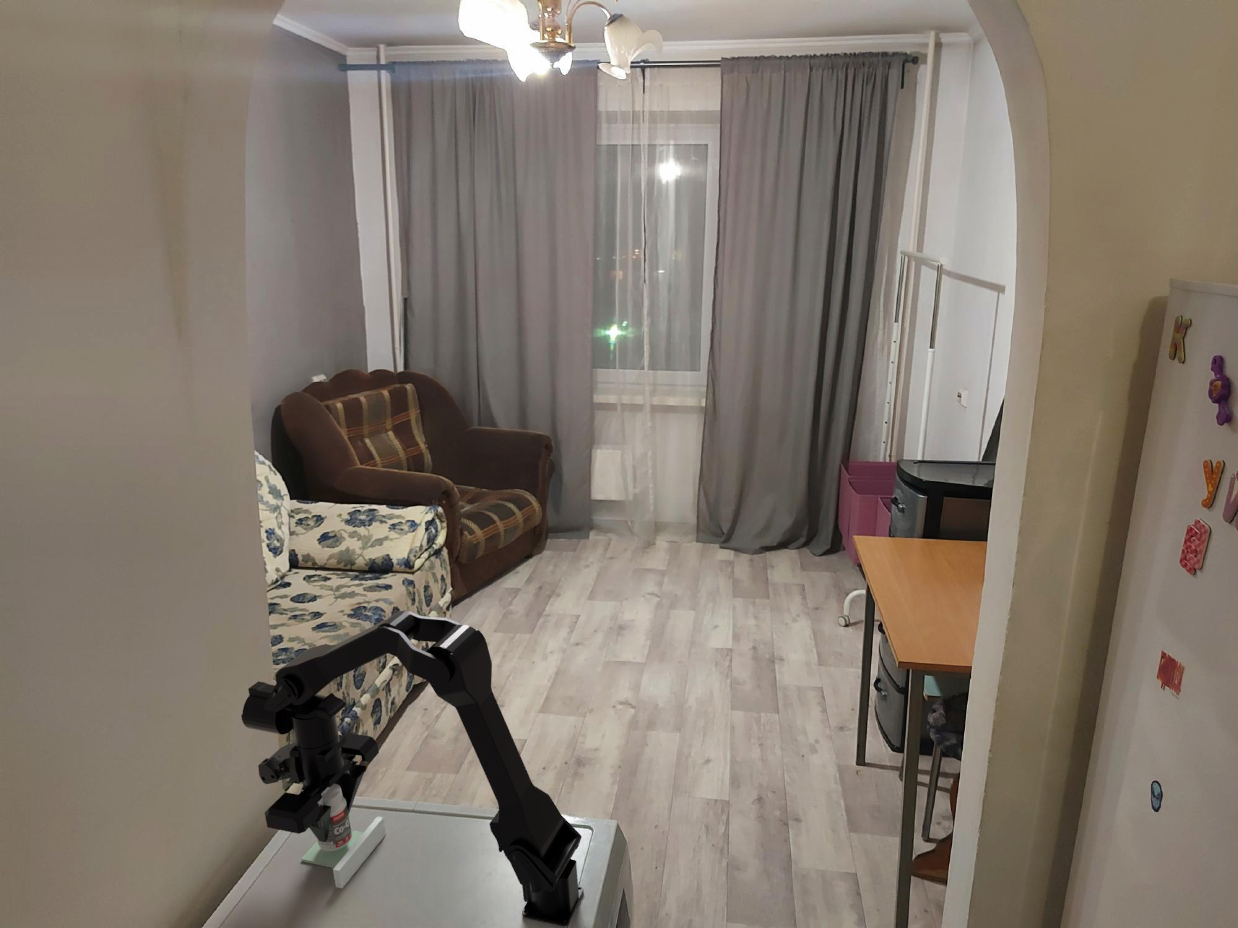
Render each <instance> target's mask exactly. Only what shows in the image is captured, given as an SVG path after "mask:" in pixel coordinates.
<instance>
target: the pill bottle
mask: <svg viewBox="0 0 1238 928" xmlns="http://www.w3.org/2000/svg"><path fill="white" fill-rule="evenodd" d="M322 798H323V799H322V802H323V805H327V806H331V813H330V822H329V832H328V838H327V841H326V842H321V841H319V840H318V839H317V841H318V844H319V846H320V848H321V849H323V850H326V851H335V850H338V849H341V848H343V847H344V846H345V845H347V844H348V843H349V841H350V840H351V838H352V831H353V830H352V827H351V820H350V814H349V815H348V809H347V803H346V800H345V798H344V797H343V796H342V791H341V787H340V786H339V785H337V784H333V785H332V786H331V787H329V788H328V789H327V790H326V791H325V793H324V794H323V795H322ZM351 830H352V831H351Z"/></svg>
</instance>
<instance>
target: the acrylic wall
mask: <svg viewBox="0 0 1238 928" xmlns="http://www.w3.org/2000/svg"><path fill="white" fill-rule="evenodd" d="M385 825H386V824H385V820H384V816H376V817H375V819H374V820H373V821H372V823H371V824H370V825H369V826H368V827H367V828H366V829H365V831H364V832H362V833H363V834H362V835H361V837H360V838H359V839H358V840H357V841H356V843H355V844H354V845H353V846H352V847H351V848H350V850H349V851H348V852H347V853H346V854H345V856H344V857H343V858H342V859H341V860H340V862H339V863H338V864H337V865H336V866H335V867H334V868H332V872H333V873H332V874H333V878H334V883H335V888H339V889H343V888H344V887H345V886H346V884H347V883H348V882H349V881H350V880H351V878H352V877H353V876H354V874H355V873H357V871H358V870H359V868H360V867H361V866H362V865H363V863H364V862H365V861H366V859H367V858H368V857H369V856H370V855H371V853H372V852H373V851H375V850H374V849H376V848H377V846H378V845H379V843H381V841H382V840H383V839H384V838H385V836H386V835H387V832H386V826H385Z"/></svg>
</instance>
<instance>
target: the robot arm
mask: <svg viewBox="0 0 1238 928" xmlns="http://www.w3.org/2000/svg"><path fill="white" fill-rule="evenodd" d="M412 640H414V641H416V642H418V641H419V642H428V643H429V642H430V643H433V644H432V645H431V646H430V647H428V648H427V650H426V651H425V650H423V649H420V648H418V647H416V646H414V644H413V643H412V642H411V641H412ZM387 654H389V655H392V656H393V657H396V659H398V661H399V662H400V664H401V665H402V666H403V667H404V668H405V671H407V672H408V673H409V674H412V675H414V676H416V677H418V678H421V679H423V680H424V681H427V682H428V683H429V685H430V686H431V688H432V689H433V691H434V693H435V694H436V696H437V697H438V698H440V699H441V700H443V701H444V702H445V703H448V704H449V705H450V706H452V707H454V708H455V710H456V712H457V713H458V716H459V719H460V721H461V723H462V726H463V728H464V729H465V732H466V734H467V736H468V739H469V741H470V744H471V746H472V747H473V751H474V753H475V755H476V756H477V759H478V761H479V763H480V766H481V769H482V770H483V772H484V775H485V777H486V779H487V782H488V784H489V786H490V788H491V790H492V793H493V795H494V798H495V800H496V801H497V804H498V811H497V812H496V813H495V815H494V816H493V818H492V819H491V821H490V822H489V829H490V832H491V834H492V835H493V837H494V839H495V840H496V842H497V846H498V852H499V853H502V852H503V854H504V856H505V858H506V859H507V861H509V863H510V866H511V868H512V870H513V872H514V873H515V876H516V878H517V880H518V882H519V884H520V885H521V886H522V887H521V888H522V896H523V897H522V898H523V902H524V903H525V905H524V907H523V909H522V910H521V913H522V914H521V915H522V917H523V918H527V919H531V920H536V921H541V922H545V923H549V924H555V925H558V926H563V927H565V926H566V927H567V926H568V925H569V924H570V922H571V919H572V917H573V915H574V912H575V911H576V909H577V906H578V904H579V902H580V900H581V898H582V895H583V893H584V886H582V885H579V879H578V868H577V867H578V866H577V860H575V859H572V857H573V856H574V854H575V852H576V850H577V849H578V847H579V846H580V844H581V841H582V835H581V834H580V833H579V831H577V830H576V828H574V827H573V826H572V824H571V823H569V822H570V821H568V820H567V819H566V818H565V817H564V816H563V815H562V814H561V812H560V810H559V809H558V807H557V806H556V804H555V802H554V801H553V799H552V798H551V796H550V795H549V794H548V793H547V792H546V791H544V790H542V789H541V788H539V787H537V786H535V785H534V783H533V782H532V779H531V777H530V775H529V773H528V771H527V768H526V766H525V765H526V764H525V763H524V761H523V759H522V757H521V753H520V751H519V750H518V747H517V745H516V743H515V741H514V739H513V736H512V733H511V732H510V730H509V729H510V728H509V727H508V725H507V724H508V723H507V722H506V719H505V717H504V715H503V713H502V710H501V708H500V706H499V704H498V700H497V699H496V697H495V695H494V692H493V689H492V688H493V687H492V675H493V673H492V670H493V662H492V661H493V660H492V658H491V655H490V650H489V646H488V642H487V640H486V638H485V636H484V634H483V633H482V632H481V631H480V630H479V629H478V628H477V629H475V628H474V627H473V626H470V625H467V624H462V623H460V622H457V621H455V620H453V619H450V618H448V617H447V618H446V617H437V616H436V617H435V616H425V615H424V616H423V615H419V614H417V613H414V612H412V611H410V610H406V609H405V610H400V611H396V612H394V613H393V614H391V616H390V617H388V618H387V619H384V620H382V621H380V622H378V623H377V624H374V625H373V626H370V627H369V628H366V629H364V630H363V631H361V632H358V633H357V634H354V635H353V636H351V637H348V638H347V639H344V640H343V641H341V642H339V643H337V644H327V643H324V644H321V645H320V644H319V645H316V646H313V647H312V646H311V647H309V648H307V649H306V650H305V651H303V652H302V653H300V654H299V655H298V656H296V657H295V658H293V659H292V660H290V661H289V662H288V663H286V664H285V665H283V666H282V667H280V668H279V669H278V670H277V671H276V672H275V675H274V677H275V681H276V683H275V685H274V684H269V683H266V682H265V681H257V682H256V683H254V684H253V685H251V686H250V687H248V694H249V695H248V697H246V698H247V699H246V700H245V701H244V704H243V709H242V714H241V721H242V724H243V725H244V726H245V727H246V728H248V729H251V730H257V731H261V732H265V733H266V732H268V733H271V734H276V735H283V736H284V735H286V734H289V733H290V732H291V731H292V732H293V735H294V740H295V742H293V743H288V744H286V745H283V746H282V747H280V748H278V750H276V751H275V752H274V753H273V754H271V756H270V757H269V758H265V759H263V760H262V761H261V762H260V763H259V764H258V765H257V766H258V775H259V778H260V780H261V782H262V783H263V784H265V785H269V784H275V783H278V782H279V781H282V780H287V779H291V783H292V784H296V785H300V784H302V783H304V786H302V787H301V792H300V793H299V794H298V793H297V794H296V793H291V792H285V791H284V793H283V794H282V795H281V796H280V797H279V798H278V799H277V800H275V801H274V802H273V803H272V804H271V805H270V807H268V808H267V809H266V811H265V812H264V816H265V821H266V827H267V829H269V828H270V829H273V830H278V831H282V832H284V831H285V832H289V833H293V834H297V835H298V834H302V833H305V832H306V831H307V830H308V829H309V830H310V831H311V832H312V834H313V835H314V836H315V837H316V839H317V841H318V840H319V841H321V842H326V841H327V838H328V832H329V822H330V813H331V806H327V805H323V802H322V799H323V798H322V795H323V794H324V793H325V791H326V790H327V789H328V788H329V787H331V786H332V785H333V784H337V785H339V786H340V787H341V791H342V796H343V797H344V798H345V800H346V803H347V809H348V815H349V816H350V812H351V810H352V806H353V803H354V800H355V798H356V796H357V793H358V789H359V787H360V784H361V782H362V780H363V777H364V774H365V772H367V770H368V769H367V768H368V767H367V766H366V765H361V764H359V761H358V760H357V758H356V756H360V757H361V761H362V762H364V763H367V764H370V763H371V762H372V761H373V760H374V759H375V758H376V757H377V756H378V754H379V753H380V751H379V745H378V741H377V740H376V739H375V738H374V737H373V736H369V735H364V734H359V733H352V732H351V733H350V732H346V733H345V734H339V729H338V724H337V719H336V715H337V714H338V713H340V712H341V711H342V710H343V709H345V708H346V707H347V702H346V701H345V700H344V699H342V698H340V697H338V696H336V695H335V694H334V693H333V692H331V693H329V694H328V695H323V694H318V693H320V692H321V691H322V690H324V689H325V688H326V687H327V686H329V684H331V683H332V682H334V680H336V679H337V678H339V677H342V676H343V675H346V674H347V673H350V672H352V671H353V670H357V669H358V668H360V667H362V666H364V665H367V664H369V663H371V662H372V661H373V662H374V661H375V660H377V659H379V658H381V657H383V656H386V655H387Z"/></svg>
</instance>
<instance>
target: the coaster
mask: <svg viewBox="0 0 1238 928" xmlns="http://www.w3.org/2000/svg"><path fill="white" fill-rule="evenodd" d="M351 831H352V838H351V840H350V841H349V843H348V844H347V845H345V846H344V847H343V848H341V849H338V850H335V851H326V850H323V849H321V848H320V846H319V844H318V840H317V841H315V843H314V844H313V845H312V846H311V847H310V849H309V850H308V851H307V852H306V853H305V854H304V855H303V856H302V858H300V860H301V862H303V863H304V862H305V863H308V864H312V865H318V866H322V867H326V868H331V869H334V867H335V866H336V865H337V864H338V863H339V862H340V860H341V859H342V858H343V857H344V856H345V854H346V853H347V852H348V851H349V850H350V848H351V847H352V846H353V845H354V844H355V843H356V841H357V840H358V839H359V838H360V837H361V835H362V834H363V833H364V832H362V831H356V830H352V829H351Z"/></svg>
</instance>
